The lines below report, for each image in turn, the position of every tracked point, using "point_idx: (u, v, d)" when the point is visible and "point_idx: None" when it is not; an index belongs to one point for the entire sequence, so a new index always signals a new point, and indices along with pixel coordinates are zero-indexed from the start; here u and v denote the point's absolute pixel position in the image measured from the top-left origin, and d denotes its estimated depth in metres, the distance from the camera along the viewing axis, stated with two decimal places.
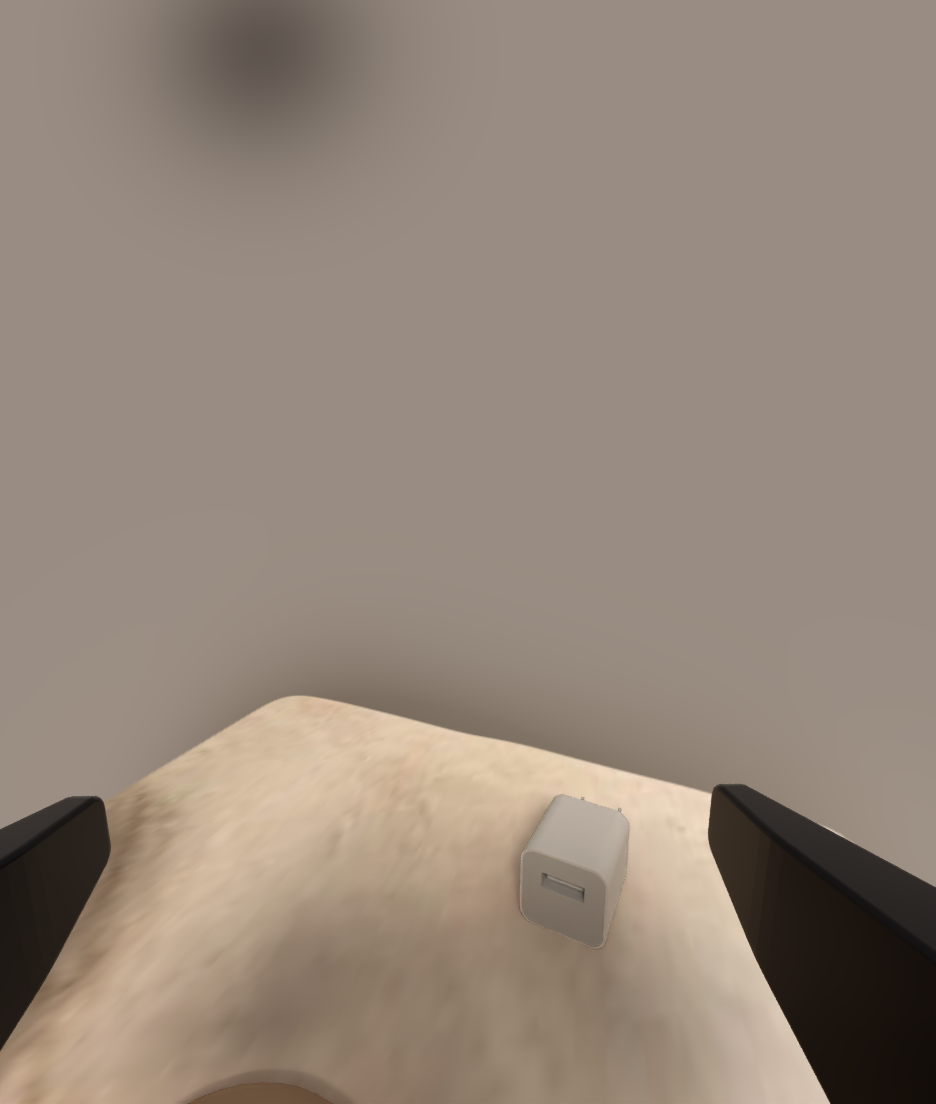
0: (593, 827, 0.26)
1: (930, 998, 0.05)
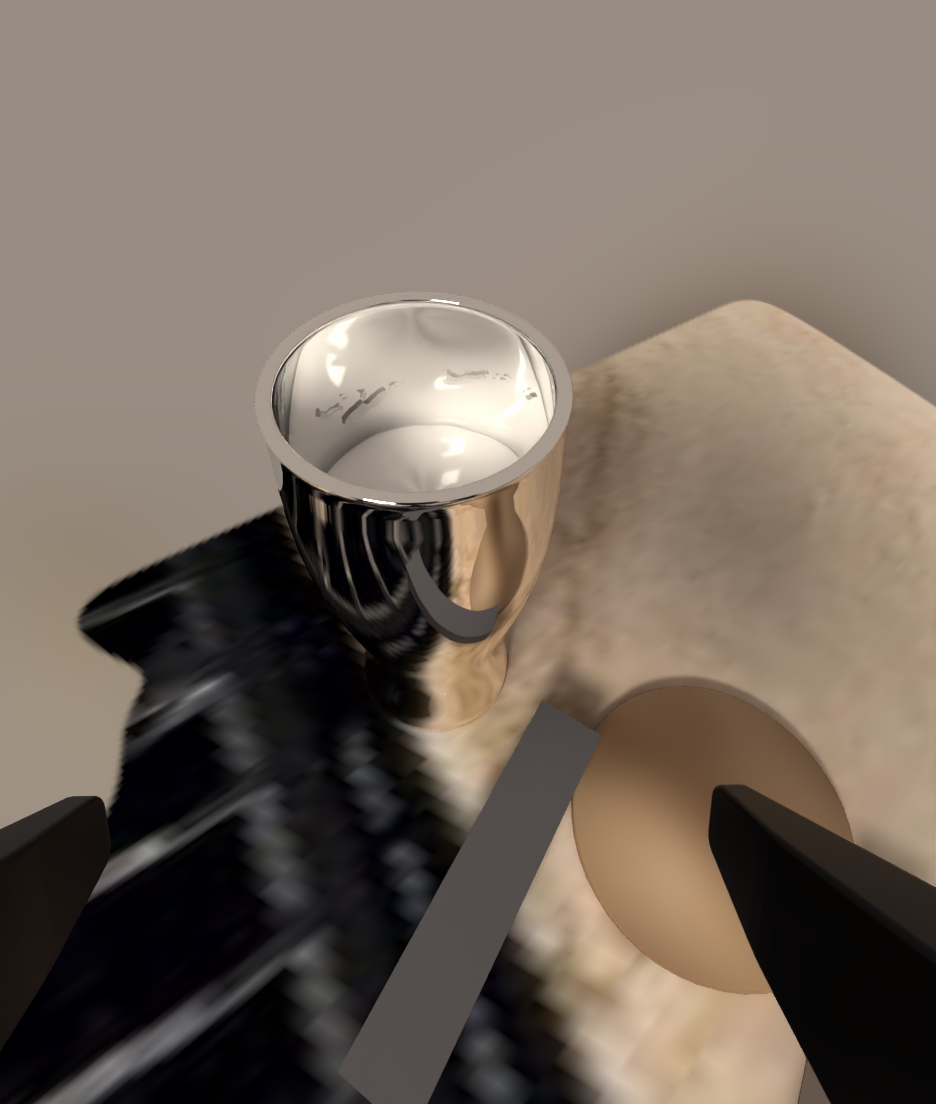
0: None
1: (930, 998, 0.05)
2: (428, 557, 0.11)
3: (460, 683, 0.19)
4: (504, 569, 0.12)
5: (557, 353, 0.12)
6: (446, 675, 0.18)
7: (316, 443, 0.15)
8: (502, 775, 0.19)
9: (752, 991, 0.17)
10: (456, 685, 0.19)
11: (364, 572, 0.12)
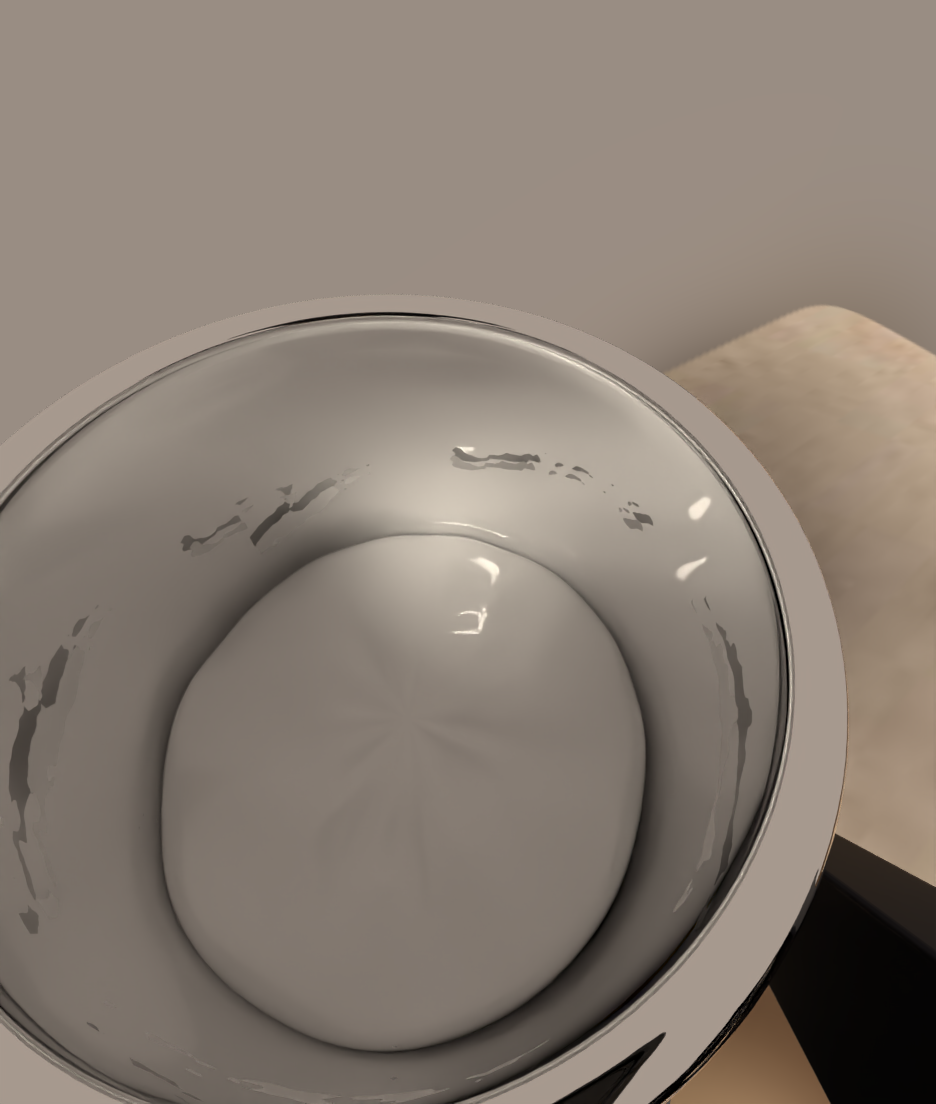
0: None
1: (930, 998, 0.05)
2: None
3: None
4: None
5: (754, 460, 0.04)
6: None
7: (194, 595, 0.08)
8: None
9: None
10: None
11: None
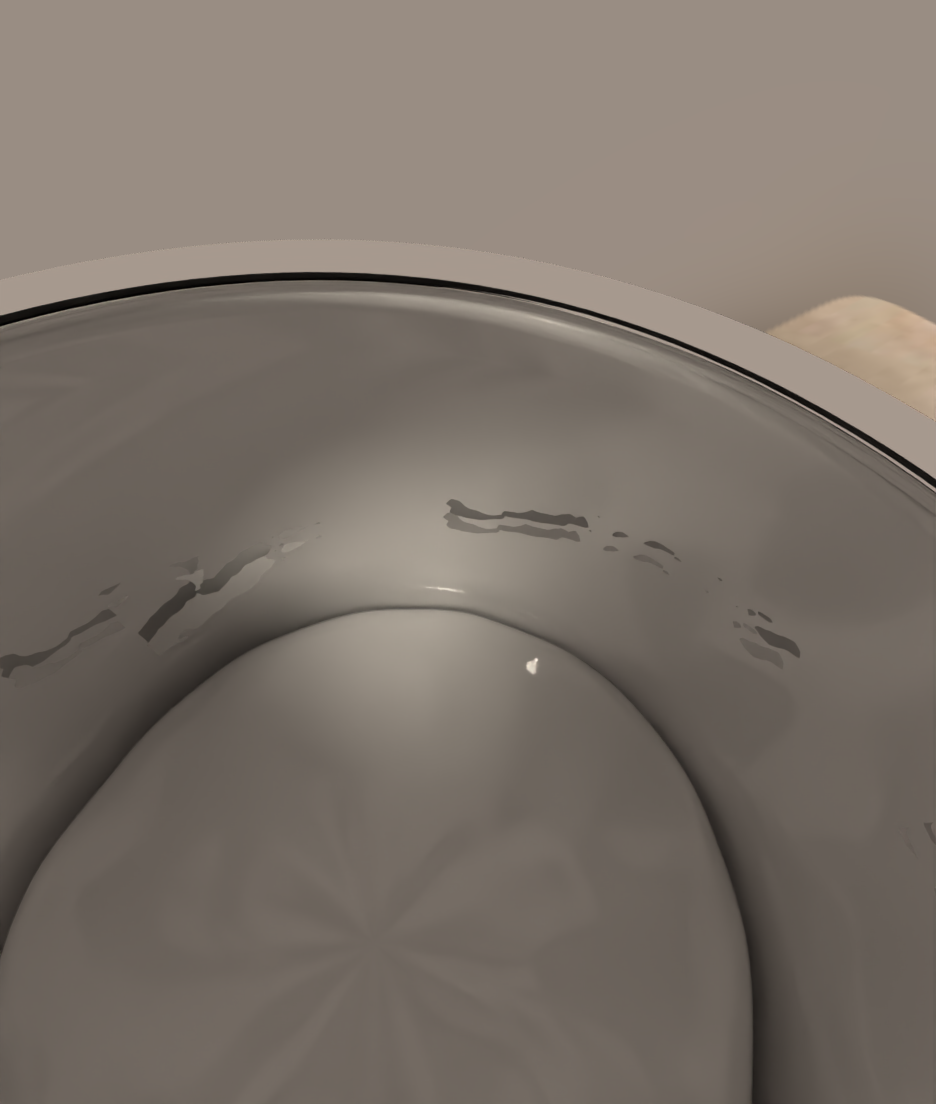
0: None
1: None
2: None
3: None
4: None
5: None
6: None
7: (39, 733, 0.05)
8: None
9: None
10: None
11: None
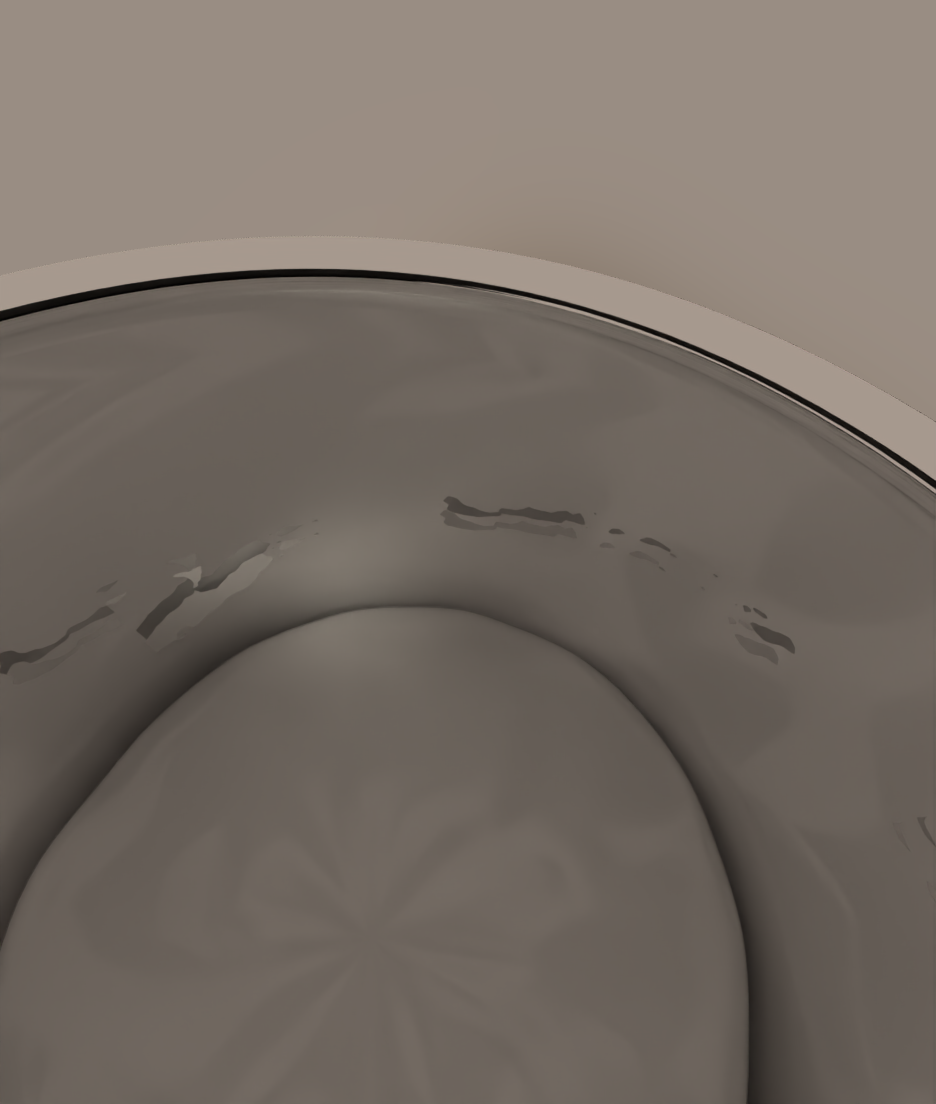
0: None
1: None
2: None
3: None
4: None
5: None
6: None
7: (38, 730, 0.05)
8: None
9: None
10: None
11: None
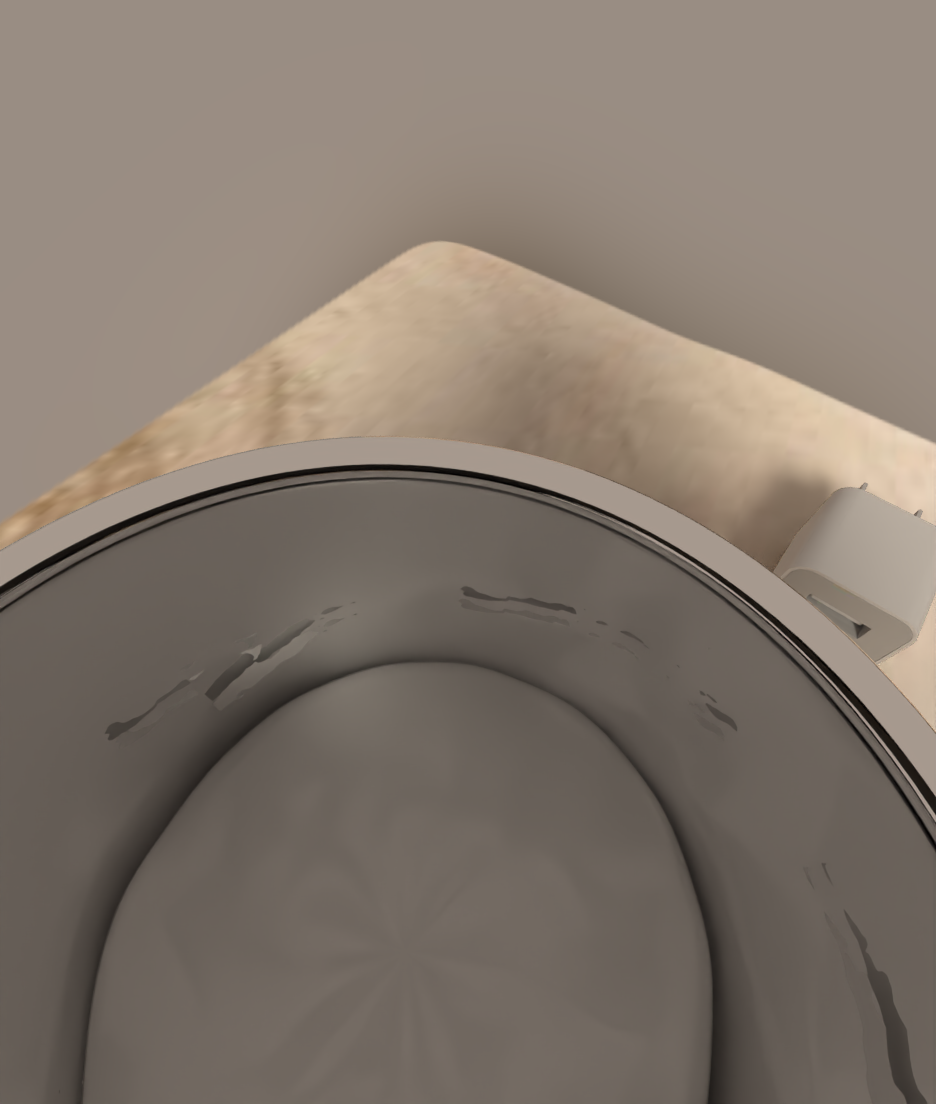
0: (907, 552, 0.18)
1: None
2: None
3: None
4: None
5: None
6: None
7: (128, 782, 0.06)
8: None
9: None
10: None
11: None
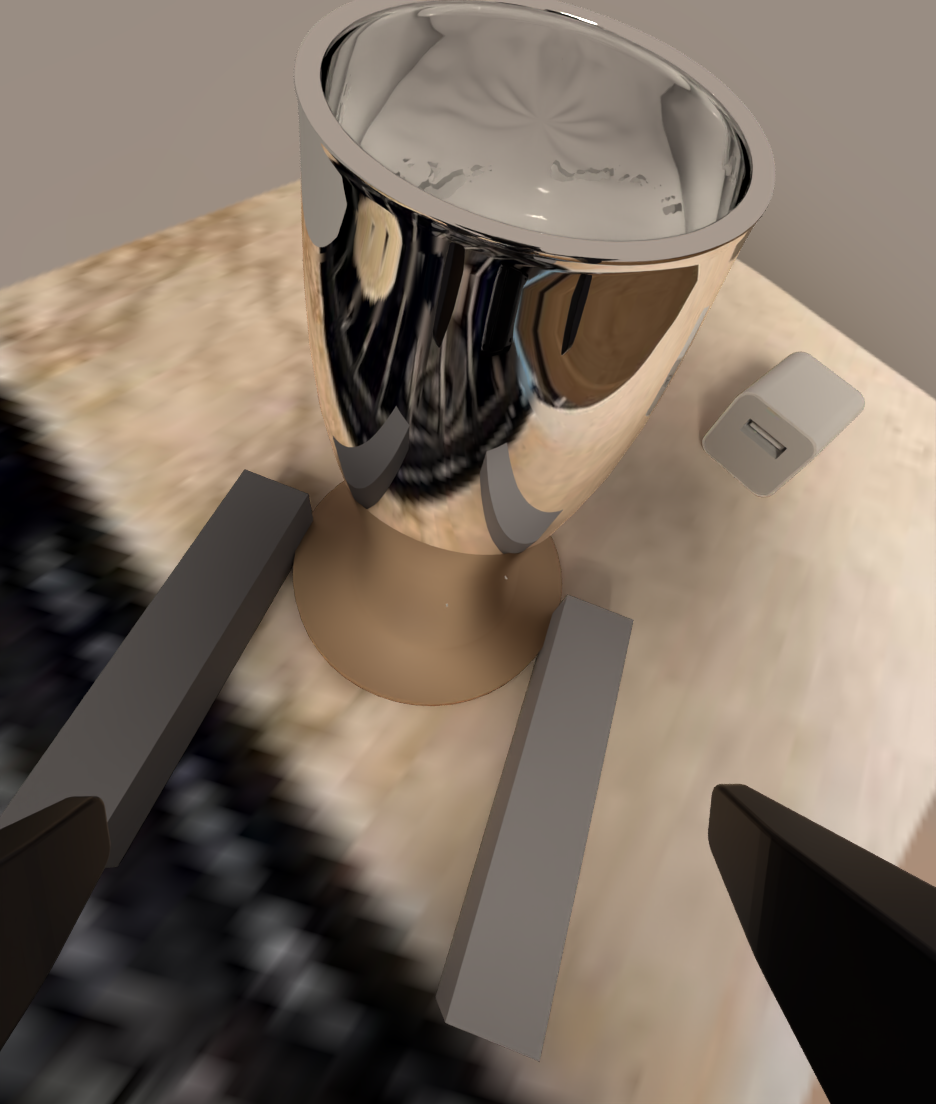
0: (827, 399, 0.23)
1: (930, 998, 0.05)
2: (517, 367, 0.07)
3: (469, 595, 0.16)
4: (603, 426, 0.09)
5: (754, 117, 0.08)
6: (459, 579, 0.14)
7: None
8: (195, 541, 0.18)
9: (461, 697, 0.19)
10: (463, 597, 0.16)
11: (412, 380, 0.08)
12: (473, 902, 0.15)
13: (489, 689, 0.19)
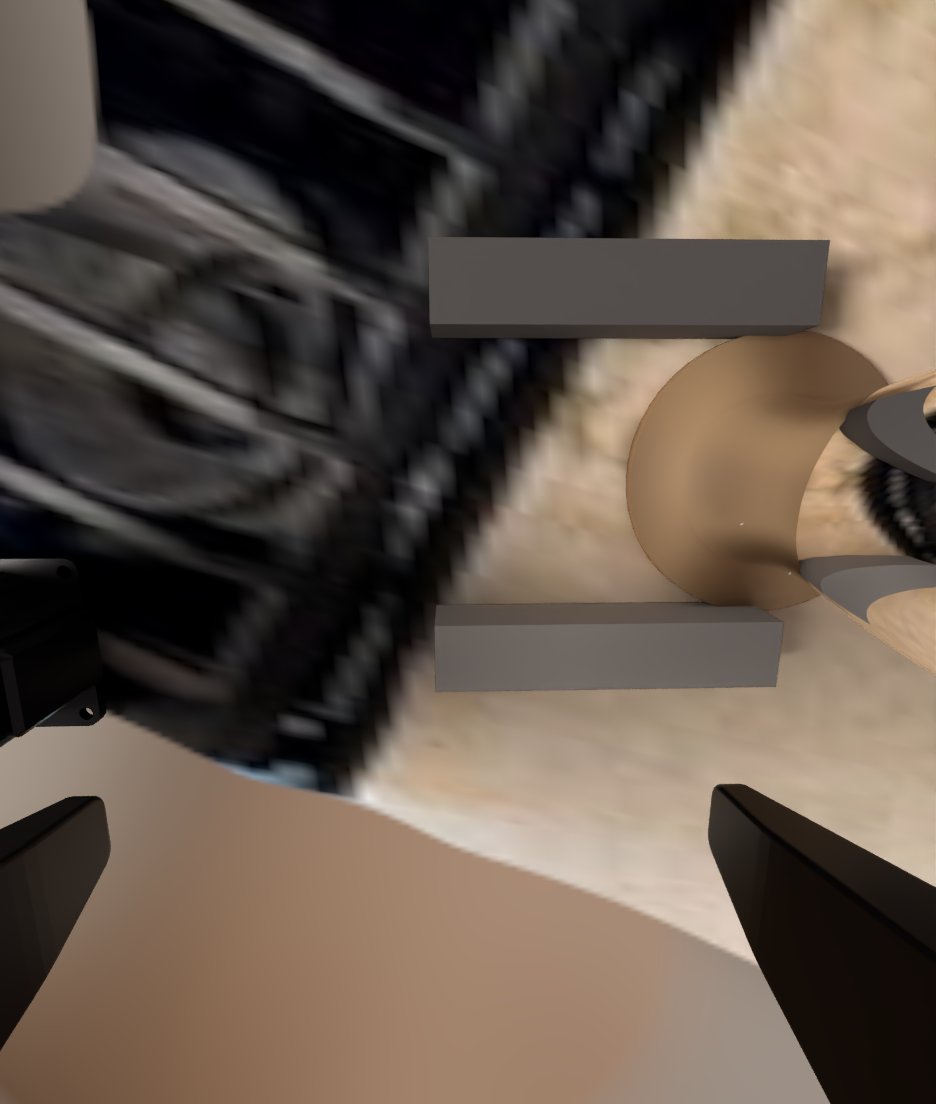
0: None
1: (930, 998, 0.05)
2: None
3: (760, 544, 0.16)
4: None
5: None
6: (780, 542, 0.15)
7: None
8: (728, 241, 0.16)
9: (649, 551, 0.20)
10: (756, 540, 0.16)
11: None
12: (505, 617, 0.20)
13: (664, 572, 0.20)
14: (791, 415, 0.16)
